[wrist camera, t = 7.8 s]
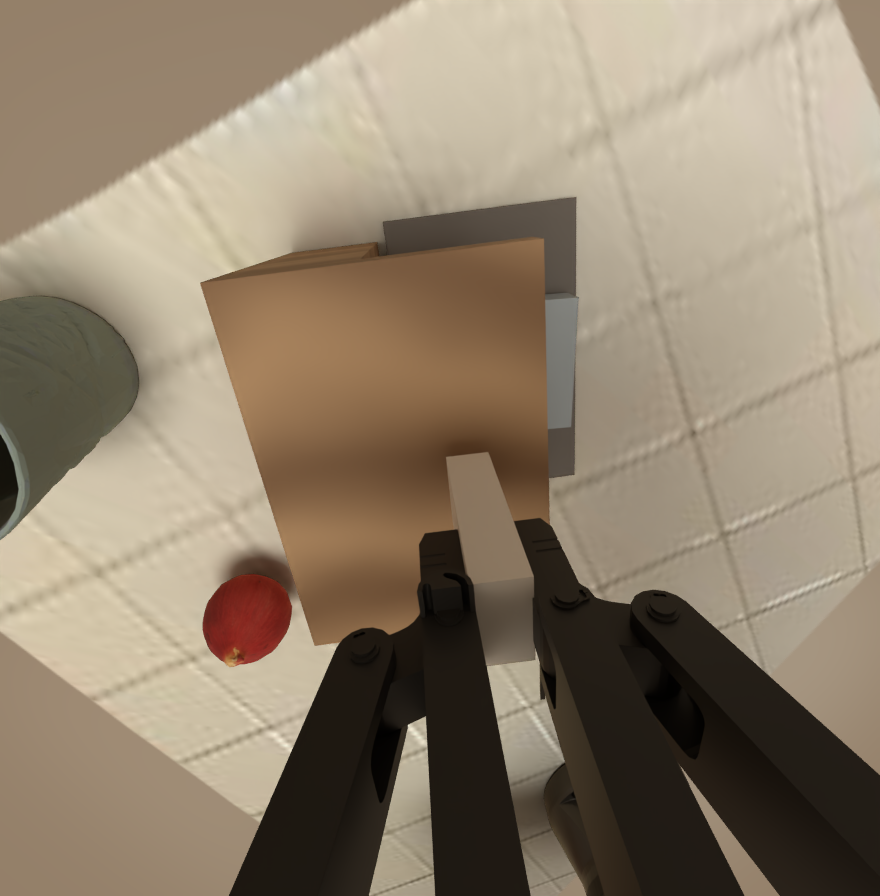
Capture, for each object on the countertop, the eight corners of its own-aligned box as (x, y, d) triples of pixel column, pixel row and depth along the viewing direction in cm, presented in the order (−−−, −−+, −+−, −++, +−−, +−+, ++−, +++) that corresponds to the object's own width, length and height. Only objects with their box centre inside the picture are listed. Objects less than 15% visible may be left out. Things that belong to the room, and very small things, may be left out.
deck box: (493, 433, 31) (487, 420, 33) (570, 427, 31) (560, 413, 33) (490, 304, 27) (484, 298, 29) (578, 297, 28) (566, 291, 30)
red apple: (276, 620, 40) (248, 709, 32) (209, 589, 38) (164, 677, 31) (313, 573, 38) (293, 656, 31) (246, 538, 36) (207, 619, 29)
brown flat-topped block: (497, 470, 35) (551, 612, 22) (346, 490, 35) (314, 645, 22) (480, 228, 28) (543, 238, 16) (290, 253, 28) (200, 283, 15)
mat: (572, 472, 36) (574, 474, 35) (423, 492, 35) (424, 495, 35) (574, 197, 28) (576, 197, 27) (383, 221, 28) (382, 222, 27)
